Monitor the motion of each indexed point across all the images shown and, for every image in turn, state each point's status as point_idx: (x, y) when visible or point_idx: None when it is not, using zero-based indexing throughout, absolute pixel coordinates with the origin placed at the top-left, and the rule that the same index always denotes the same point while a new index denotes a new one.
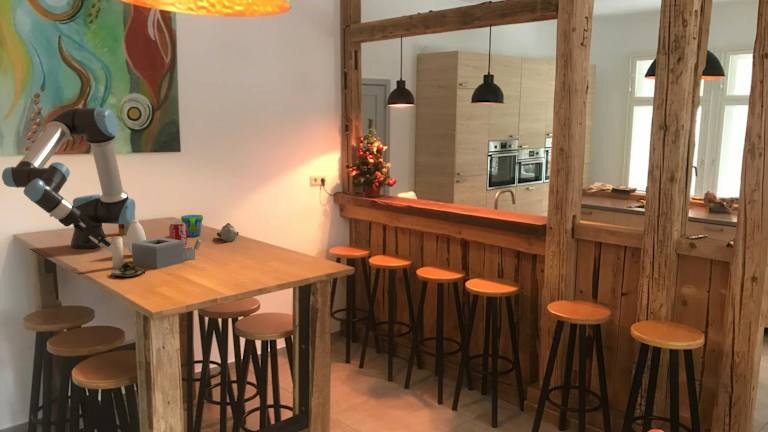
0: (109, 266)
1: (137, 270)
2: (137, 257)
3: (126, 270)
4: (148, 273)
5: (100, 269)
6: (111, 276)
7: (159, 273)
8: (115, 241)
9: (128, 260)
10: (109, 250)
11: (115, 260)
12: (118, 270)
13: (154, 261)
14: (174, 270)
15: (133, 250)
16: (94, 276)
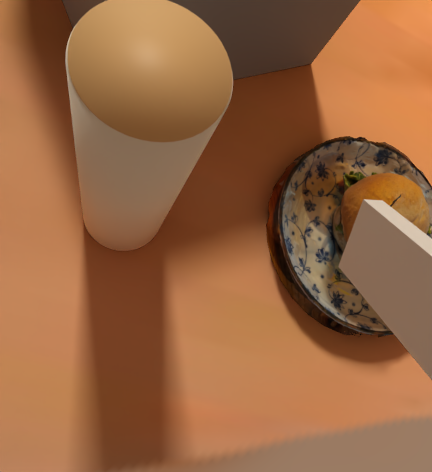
0: (42, 254)
1: (322, 165)
2: None
3: None
4: (377, 139)
5: (101, 343)
6: (348, 334)
7: (402, 100)
8: (210, 134)
9: (426, 202)
10: (371, 295)
11: (160, 222)
12: None
13: (317, 35)
14: (378, 22)
15: None
16: (294, 436)
